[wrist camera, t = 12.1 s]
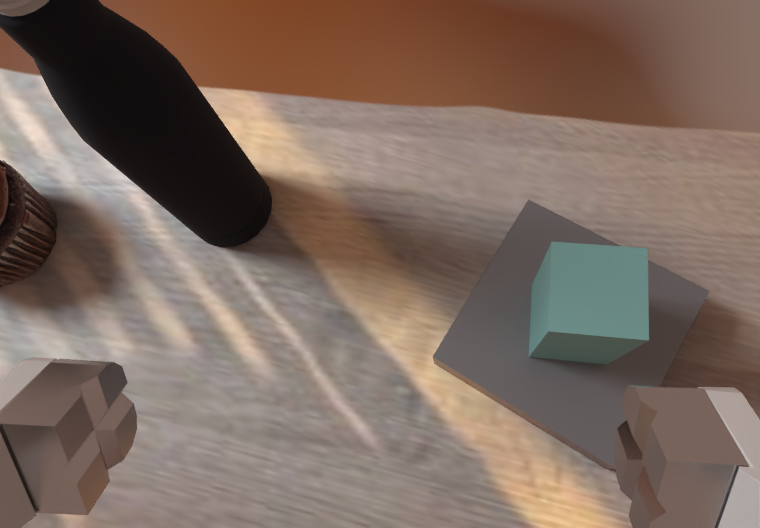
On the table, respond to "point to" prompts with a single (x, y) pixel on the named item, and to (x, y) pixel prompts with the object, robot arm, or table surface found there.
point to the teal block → (589, 303)
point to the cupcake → (22, 227)
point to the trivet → (548, 376)
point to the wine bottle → (142, 114)
